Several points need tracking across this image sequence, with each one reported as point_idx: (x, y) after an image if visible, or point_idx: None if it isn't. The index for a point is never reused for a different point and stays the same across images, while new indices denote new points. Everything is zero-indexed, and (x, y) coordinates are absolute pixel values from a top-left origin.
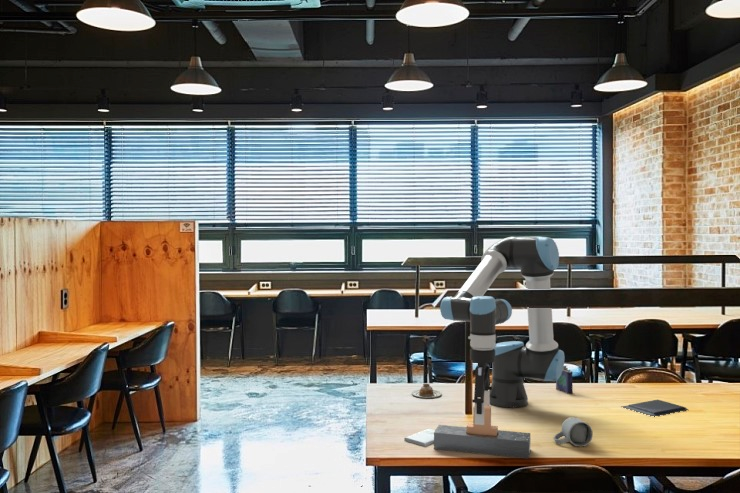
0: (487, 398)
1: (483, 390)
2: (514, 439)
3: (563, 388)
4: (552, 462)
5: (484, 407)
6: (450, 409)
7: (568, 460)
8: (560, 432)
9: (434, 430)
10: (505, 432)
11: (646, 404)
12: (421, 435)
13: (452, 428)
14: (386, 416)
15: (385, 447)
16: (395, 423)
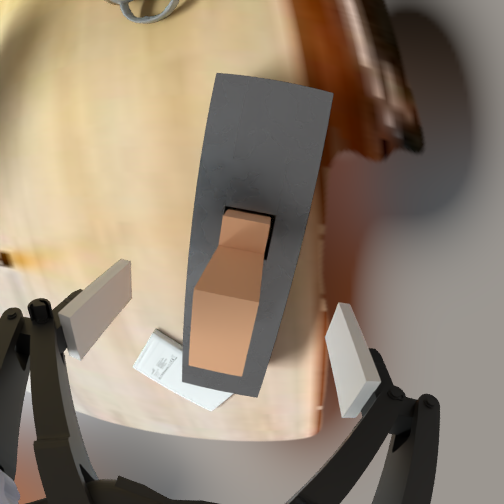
0: (95, 302)
1: (413, 453)
2: (311, 147)
3: None
4: (341, 44)
5: (237, 329)
6: (6, 294)
7: (314, 2)
8: (123, 6)
9: (140, 358)
10: (220, 175)
11: None
12: (188, 386)
13: None
14: (90, 404)
15: (260, 429)
16: (117, 402)
